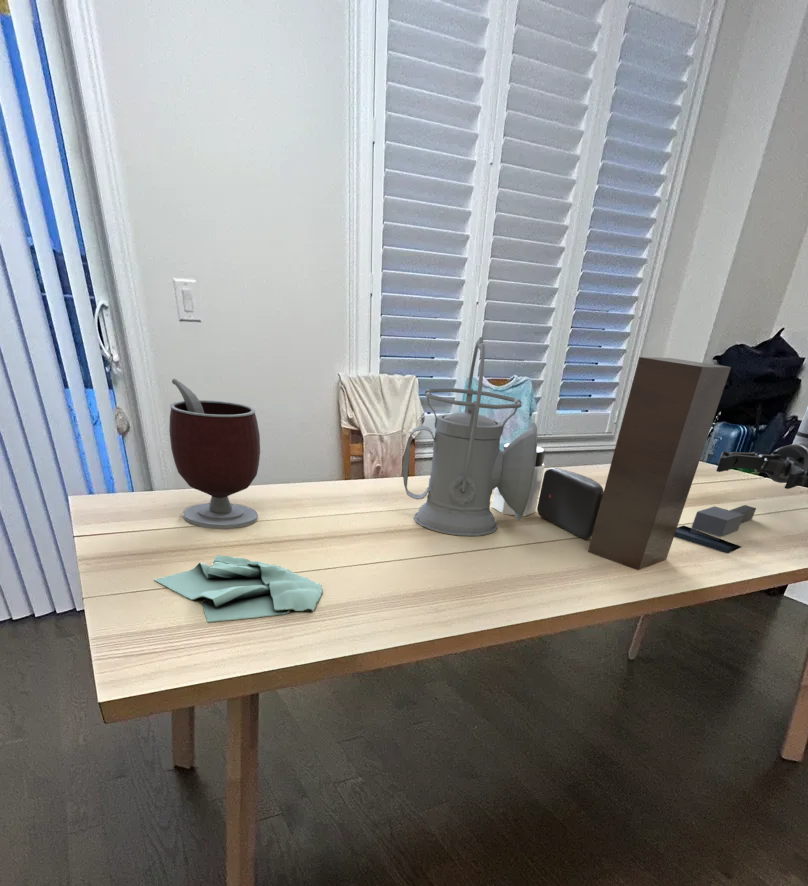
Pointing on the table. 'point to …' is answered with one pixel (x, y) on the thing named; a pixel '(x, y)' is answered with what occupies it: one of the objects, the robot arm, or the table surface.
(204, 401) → the mate gourd
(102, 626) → the table surface
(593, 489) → the red-dotted rounded block
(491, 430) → the lantern
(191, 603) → the table surface
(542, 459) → the jar
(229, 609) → the cloth
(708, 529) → the switch lever
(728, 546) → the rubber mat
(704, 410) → the plinth
